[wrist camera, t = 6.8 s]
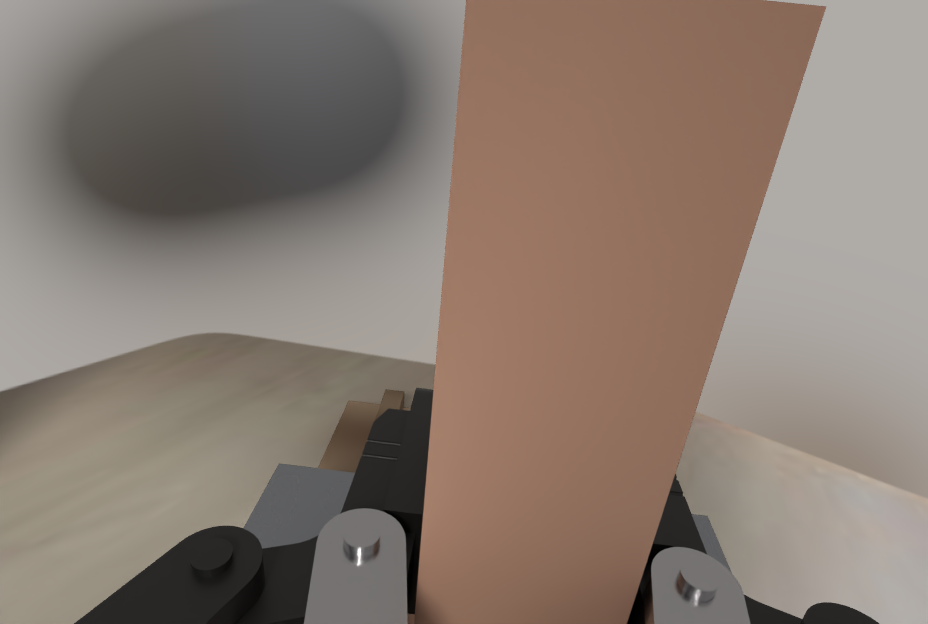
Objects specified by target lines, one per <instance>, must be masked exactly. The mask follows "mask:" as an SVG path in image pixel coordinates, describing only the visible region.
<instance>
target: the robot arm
mask: <svg viewBox="0 0 928 624" xmlns="http://www.w3.org/2000/svg"><path fill="white" fill-rule="evenodd" d="M433 391H434V390H431V389H422V388H416V390H415V394H414V398H413V401H412V405H411V409H410V411H407V410H399V409H390V408H388V409H387V410H386V411H385V412H384V413H383V414H382V415H381V416H380V417H378V418H377V419H376V420H375V421H374V422H373V425H372V427H371V430H370V433H369V436H368V439H367V442H366V444H365V447H364V450H363V453H362V457H361V458H360V461H359V464H358V466H357V469H356V472H355V475H354V478H353V480H352V483H351V486H350V489H349V492H348V494H347V497H346V500H345V503H344V505H343V508H342V511H341V513H340V514H339V515H337V516H335V517H334V518H332V519H331V520H330V521H329V522H328V523H327V524H325V526H324V527H323V528H322V530H321V532H320V534H319V535H318V536H316V537H314V538H312V539H309V540H306V541H303V542H300V543H295V544H290V545H283V546H276V547H269V548H263V549H262V546H261V543H260V542H259V540H258V538H257V537H256V536H255V535H254V534H252V533H251V532H250V531H248V530H245V529H243V528H240V527H235V526H217V527H211V528H208V529H204V530H201V531H199V532H196V533H194V534H192V535H190V536H188V537H187V538H185V539H184V540H182V541H181V542H180V543H178V544H177V545H176V546H174V547H173V548H172V549H170V550H169V551H168V552H167V553H165V554H164V555H163V556H161V557H160V558H159V559H157V560H156V561H155V562H154V563H152V564H151V565H150V566H148V567H147V568H146V569H145V570H143V571H142V572H141V573H139V574H138V575H137V576H135V577H134V578H133V579H132V580H130V581H129V582H128V583H126V584H125V585H124V586H122V587H121V588H120V589H119V590H117V591H116V592H115V593H113V594H112V595H111V596H109V597H108V598H107V599H106V600H104V601H103V602H102V603H100V604H99V605H98V606H97V607H95V608H94V609H93V610H91V611H90V612H89V613H87V614H86V615H85V616H84V617H82V618H81V619H80V620H78V621H77V622H76V623H74V624H408V622H407V613H408V614H415V606H416V594H417V582H418V570H419V558H420V546H421V534H422V522H423V510H424V498H425V486H426V474H427V462H428V450H429V438H430V426H431V415H432V403H433ZM676 477H677V476H676V474H675V476H674V479H673V482H672V485H671V488H670V492H669V495H668V498H667V501H666V504H665V507H664V510H663V513H662V516H661V519H660V522H659V526H658V529H657V532H656V535H655V538H654V541H653V544H652V547H651V550H650V553H649V557H648V560H647V563H646V566H645V569H644V572H643V575H642V578H641V581H640V584H639V587H638V591H637V594H636V597H635V600H634V603H633V606H632V609H631V612H630V615H629V618H628V622H627V624H879V623H878V622H876V621H875V620H873V619H872V618H870V617H868V616H867V615H865V614H863V613H861V612H859V611H857V610H855V609H853V608H850V607H848V606H844V605H841V604H836V603H818V604H815V605H813V606H811V607H810V608H809V609H808V610H807V611H806V613H805V615H804V617H803V619H800V618H798V617H795V616H793V615H790V614H788V613H785V612H782V611H780V610H777V609H775V608H772V607H770V606H767V605H764V604H762V603H760V602H757V601H755V600H753V599H751V598H749V597H748V596H746V595H744V594H743V591H742V588H741V586H740V584H739V583H738V581H737V580H736V578H735V577H734V575H733V574H732V573H731V572H730V571H729V570H728V569H727V568H726V567H725V566H724V565H722V564H721V563H720V562H718V561H717V560H716V559H714V558H712V557H711V556H709V555H707V552H706V550H705V547H704V545H703V542H702V540H701V537H700V535H699V532H698V529H697V527H696V524H695V522H694V519H693V517H692V514H691V512H690V509H689V507H688V504H687V502H686V499H685V497H684V496H683V491H682V489H681V486H680V484H679V481H678V480H676Z"/></svg>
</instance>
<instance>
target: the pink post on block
mask: <svg viewBox="0 0 928 624" xmlns="http://www.w3.org/2000/svg"><path fill="white" fill-rule="evenodd" d="M825 9H826V7H825V6H815V5H805V4H795V3H785V2H776V1H766V0H765V1H764V0H466V8H465V20H464V32H463V44H462V56H461V68H460V80H459V92H458V104H457V115H456V127H455V139H454V151H453V165H452V176H451V188H450V199H449V211H448V224H447V236H446V247H445V259H444V271H443V272H444V273H443V283H442V295H441V307H440V320H439V331H438V343H437V355H436V367H435V379H434V391H433V403H432V415H431V426H430V438H429V450H428V462H427V474H426V486H425V498H424V510H423V522H422V534H421V546H420V558H419V570H418V582H417V594H416V606H415V614H409V618H408V624H627V622H628V618H629V615H630V612H631V609H632V606H633V603H634V600H635V597H636V594H637V591H638V587H639V584H640V581H641V578H642V575H643V572H644V569H645V566H646V563H647V560H648V557H649V553H650V550H651V547H652V544H653V541H654V538H655V535H656V532H657V529H658V526H659V522H660V519H661V516H662V513H663V510H664V507H665V504H666V501H667V498H668V495H669V492H670V488H671V485H672V482H673V479H674V476H675V473H676V470H677V467H678V464H679V461H680V457H681V454H682V451H683V448H684V445H685V442H686V439H687V436H688V433H689V430H690V427H691V423H692V420H693V417H694V414H695V411H696V408H697V405H698V402H699V399H700V396H701V392H702V389H703V386H704V383H705V380H706V377H707V374H708V371H709V368H710V365H711V362H712V358H713V355H714V352H715V349H716V346H717V343H718V340H719V337H720V333H721V331H722V327H723V324H724V321H725V318H726V315H727V312H728V309H729V305H730V303H731V299H732V297H733V293H734V290H735V287H736V284H737V281H738V278H739V275H740V272H741V269H742V266H743V262H744V259H745V256H746V253H747V250H748V247H749V244H750V241H751V238H752V234H753V231H754V228H755V225H756V222H757V219H758V216H759V213H760V210H761V207H762V204H763V200H764V197H765V194H766V191H767V188H768V185H769V182H770V179H771V176H772V173H773V169H774V167H775V163H776V160H777V157H778V154H779V151H780V148H781V145H782V142H783V139H784V136H785V132H786V129H787V126H788V123H789V120H790V117H791V114H792V111H793V108H794V104H795V102H796V98H797V95H798V92H799V89H800V86H801V83H802V80H803V76H804V73H805V71H806V67H807V64H808V61H809V58H810V55H811V52H812V49H813V46H814V43H815V39H816V37H817V33H818V30H819V27H820V24H821V21H822V18H823V15H824V12H825Z"/></svg>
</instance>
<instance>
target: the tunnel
mask: <svg viewBox="0 0 928 624" xmlns="http://www.w3.org/2000/svg"><path fill="white" fill-rule="evenodd" d="M354 475H355V473H352V472H344V471H336V470H328V469H320V468H311V467H303V466H295V465H287V464H279V465H278V467H277V468H276V470H275V472H274V474H273V476H272V477H271V479H270V481H269V483H268V485H267V486H266V488H265V490H264V492H263V494H262V496H261V497H260V499H259V501H258V503H257V505H256V506H255V508H254V510H253V512H252V514H251V515H250V517H249V519H248V521H247V523H246V524H245V526H244V528H243V529H245V530H248V531H250V532H251V533H252V534H254V535H255V536H256V537H257V538H258V540H259V542H260V543H261V546H262V549H263V548H269V547H276V546H283V545H290V544H295V543H300V542H303V541H306V540H309V539H312V538H314V537H316V536H318V535H319V534H320V532H321V530H322V528H323V527H324V526H325V524H327V523H328V522H329V521H330V520H331V519H332V518H334V517H335V516H337V515H339V514H340V513H341V511H342V508H343V505H344V503H345V500H346V497H347V494H348V492H349V489H350V486H351V483H352V480H353V478H354ZM692 517H693V519H694V522H695V524H696V527H697V529H698V532H699V535H700V537H701V540H702V542H703V545H704V547H705V550H706V552H707V555H709V556H711V557H712V558H714V559H716V560H717V561H718V562H720V563H721V564H722V565H724V566H725V567H726V568H727V569H728V570H729V571H730V572H731V570H730V568H729V565H728V563H727V561H726V558H725V556H724V554H723V551H722V549H721V547H720V544H719V542H718V540H717V537H716V535H715V533H714V530H713V528H712V526H711V523H710V521H709V519H708V516H702V515H694V514H692ZM408 618H409V614H408V613H407V622H408Z"/></svg>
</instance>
